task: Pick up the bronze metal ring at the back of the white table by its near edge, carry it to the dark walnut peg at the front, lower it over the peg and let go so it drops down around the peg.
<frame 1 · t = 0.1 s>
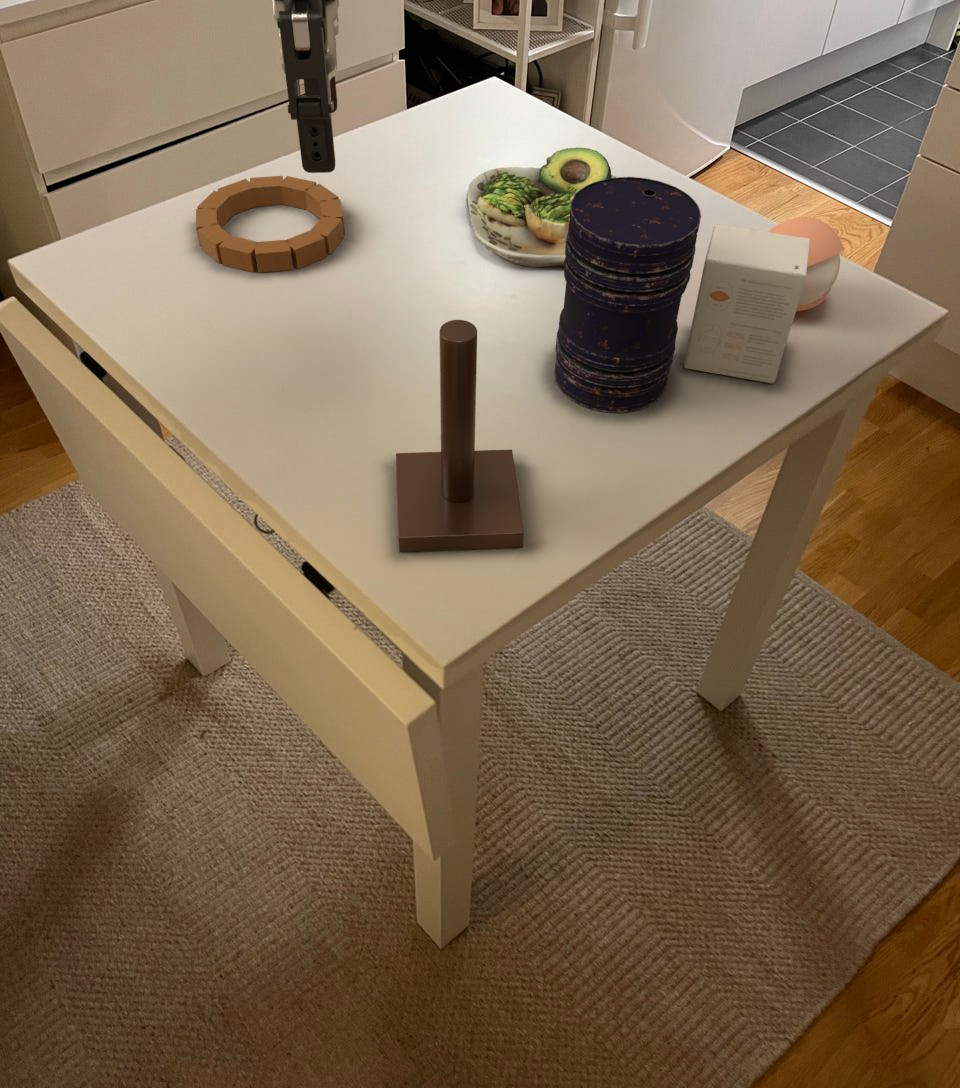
hand: (321, 139, 70), 19 cm above the table, tool pointing down, fingers open, 8 cm apart
avocado toast plate: (552, 222, 100), on the table
peg: (457, 506, 75), on the table
ring: (272, 231, 98), on the table
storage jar: (610, 378, 85), on the table
small box: (730, 360, 87), on the table
toy ball: (785, 305, 92), on the table
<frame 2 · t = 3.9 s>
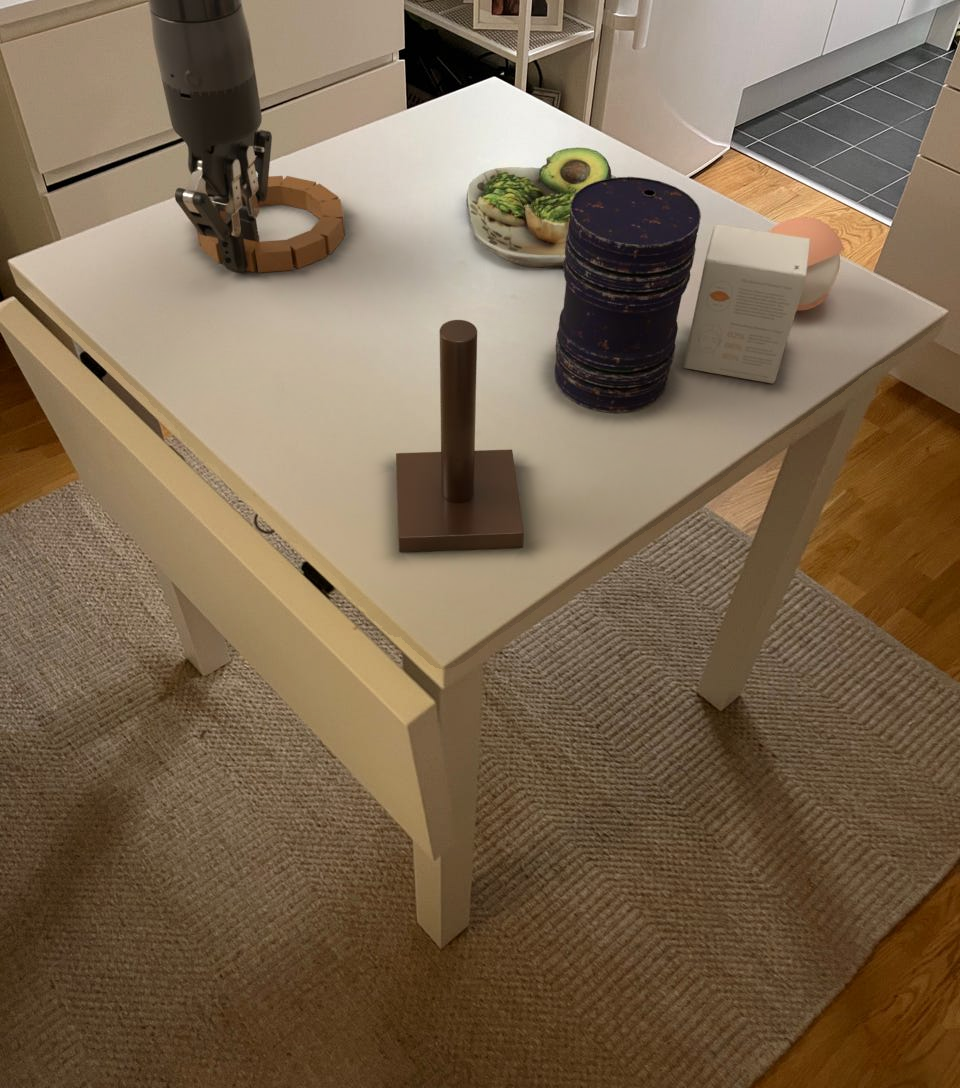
hand: (242, 261, 94), 0 cm above the table, tool pointing down, fingers closed on ring, 2 cm apart
ring: (272, 231, 98), on the table, touching gripper
everything else where it was.
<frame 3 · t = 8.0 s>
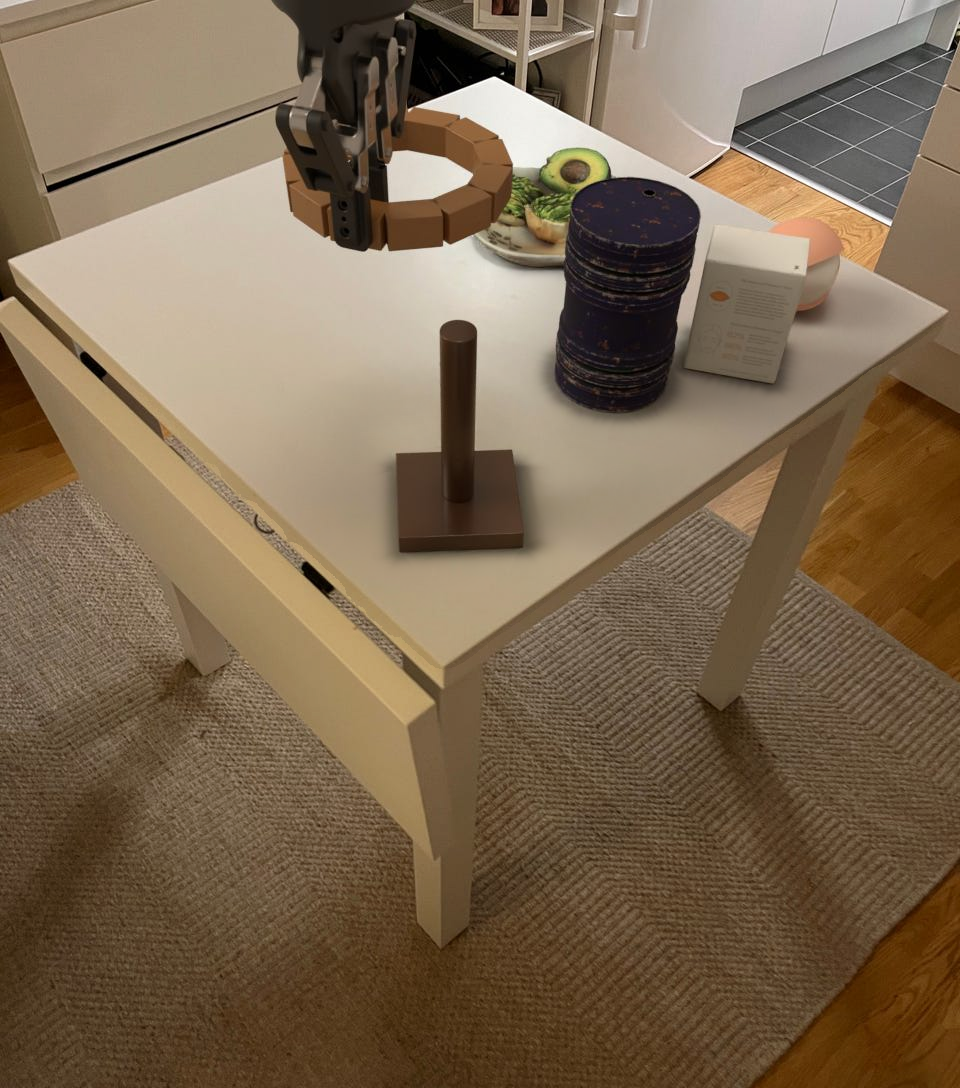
hand: (362, 234, 60), 21 cm above the table, tool pointing down, fingers closed on ring
ring: (399, 190, 63), point 21 cm above the table, touching gripper
everything else where it was.
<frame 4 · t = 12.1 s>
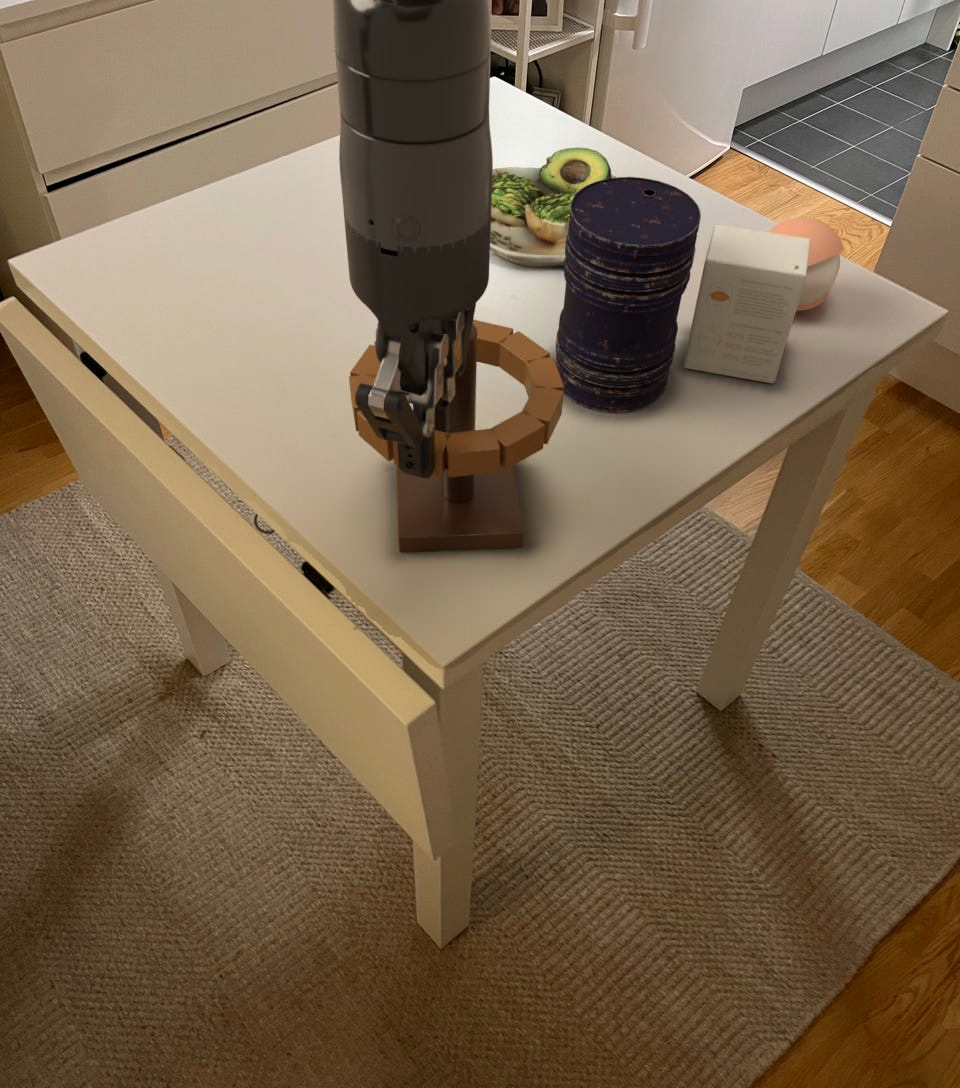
hand: (424, 459, 64), 10 cm above the table, tool pointing down, fingers closed on ring
ring: (456, 405, 68), point 10 cm above the table, touching gripper
everything else where it was.
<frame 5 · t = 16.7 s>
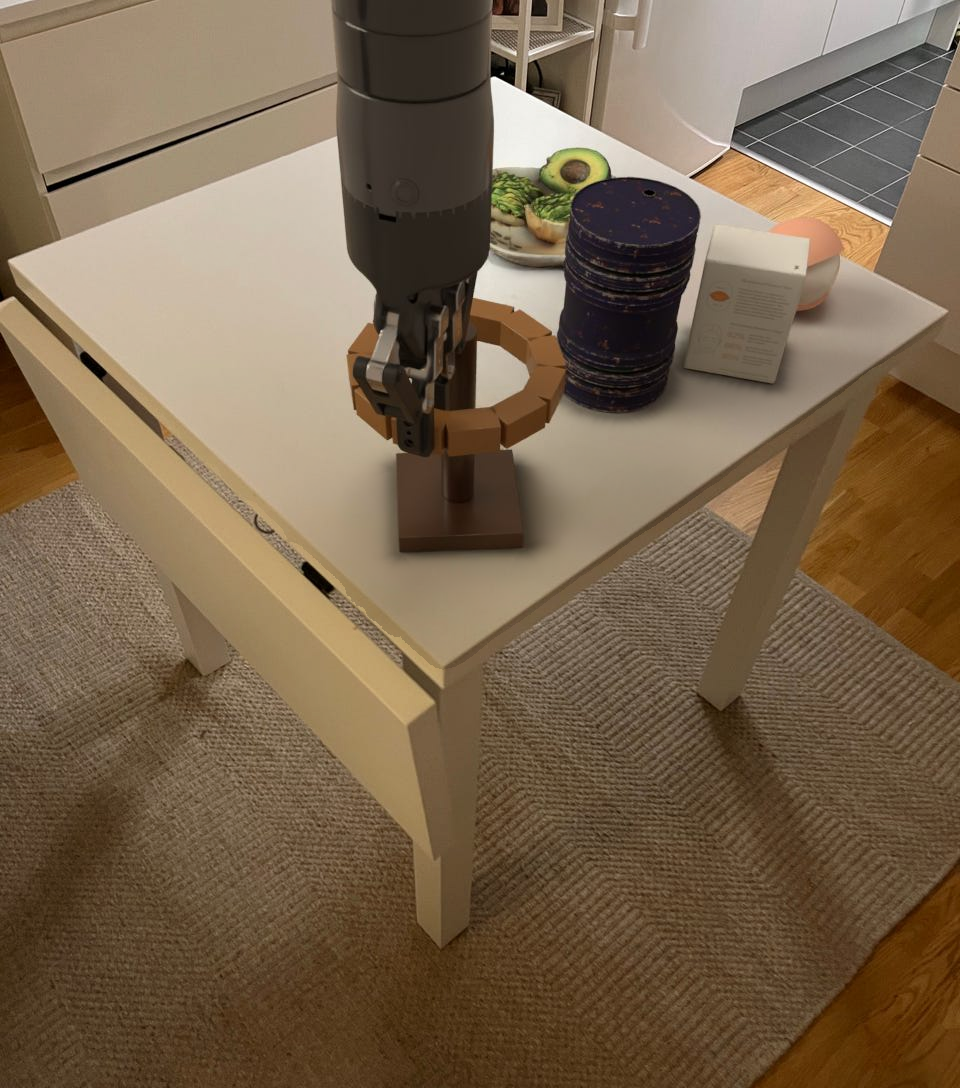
hand: (423, 437, 62), 12 cm above the table, tool pointing down, fingers closed on ring
ring: (456, 384, 66), point 11 cm above the table, touching gripper
everything else where it was.
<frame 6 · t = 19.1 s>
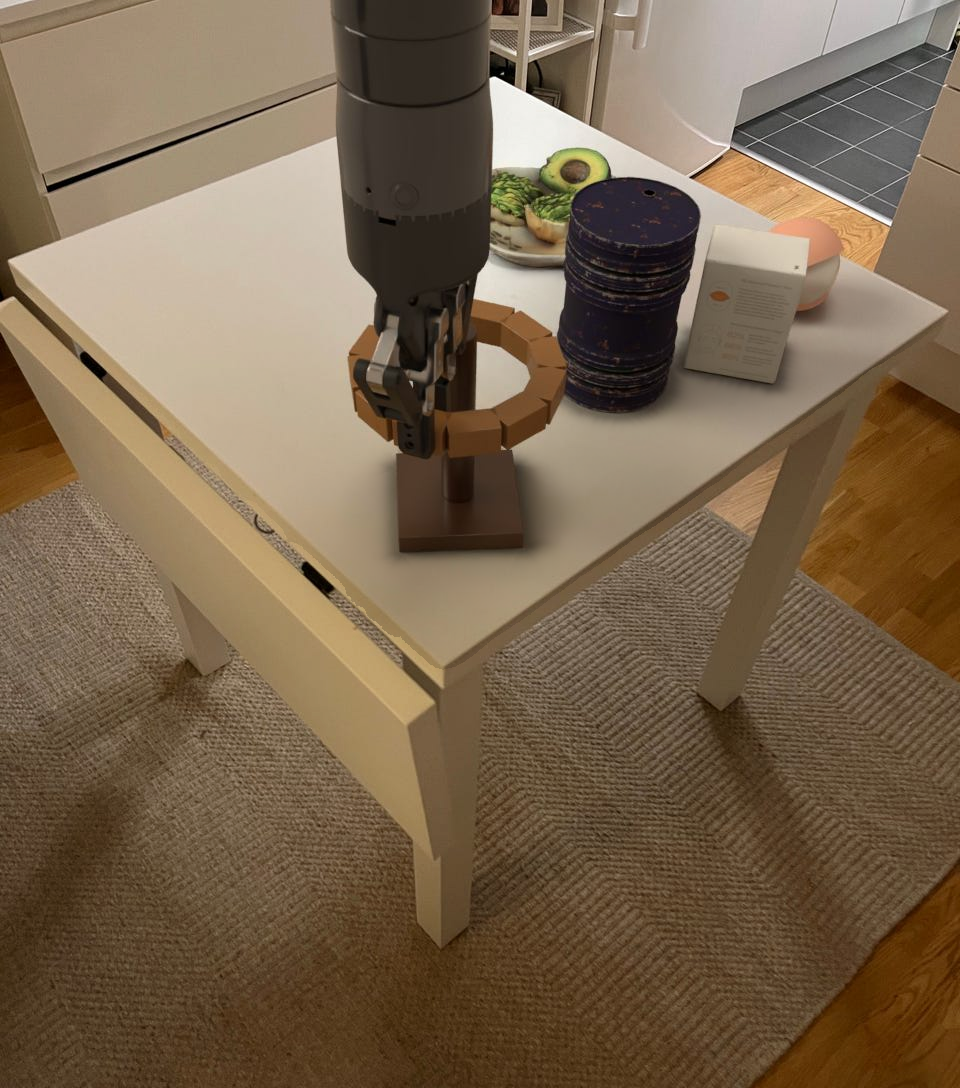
hand: (424, 439, 63), 11 cm above the table, tool pointing down, fingers closed on ring
ring: (457, 385, 66), point 11 cm above the table, touching gripper
everything else where it was.
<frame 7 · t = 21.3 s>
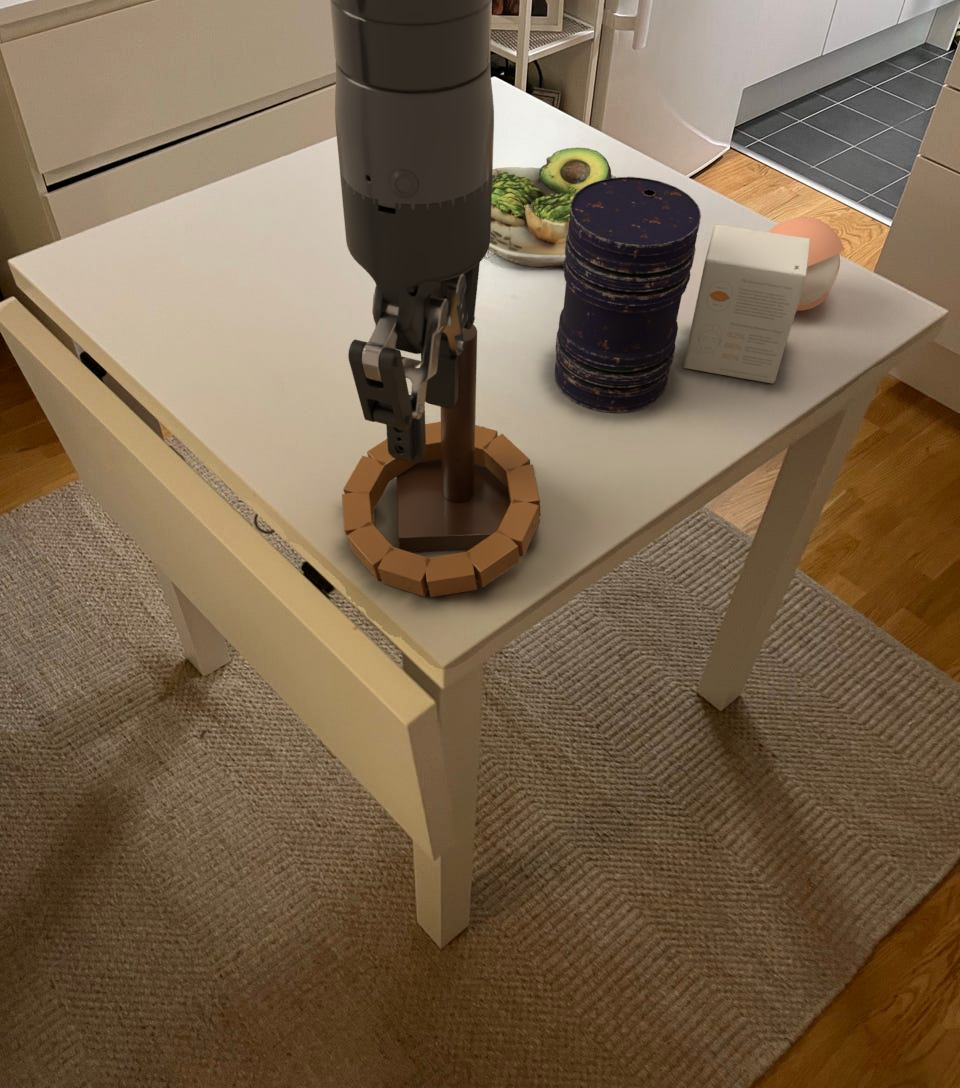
hand: (424, 428, 62), 12 cm above the table, tool pointing down, fingers open, 5 cm apart
ring: (442, 513, 73), point 1 cm above the table, tilted 11°, touching peg
everything else where it was.
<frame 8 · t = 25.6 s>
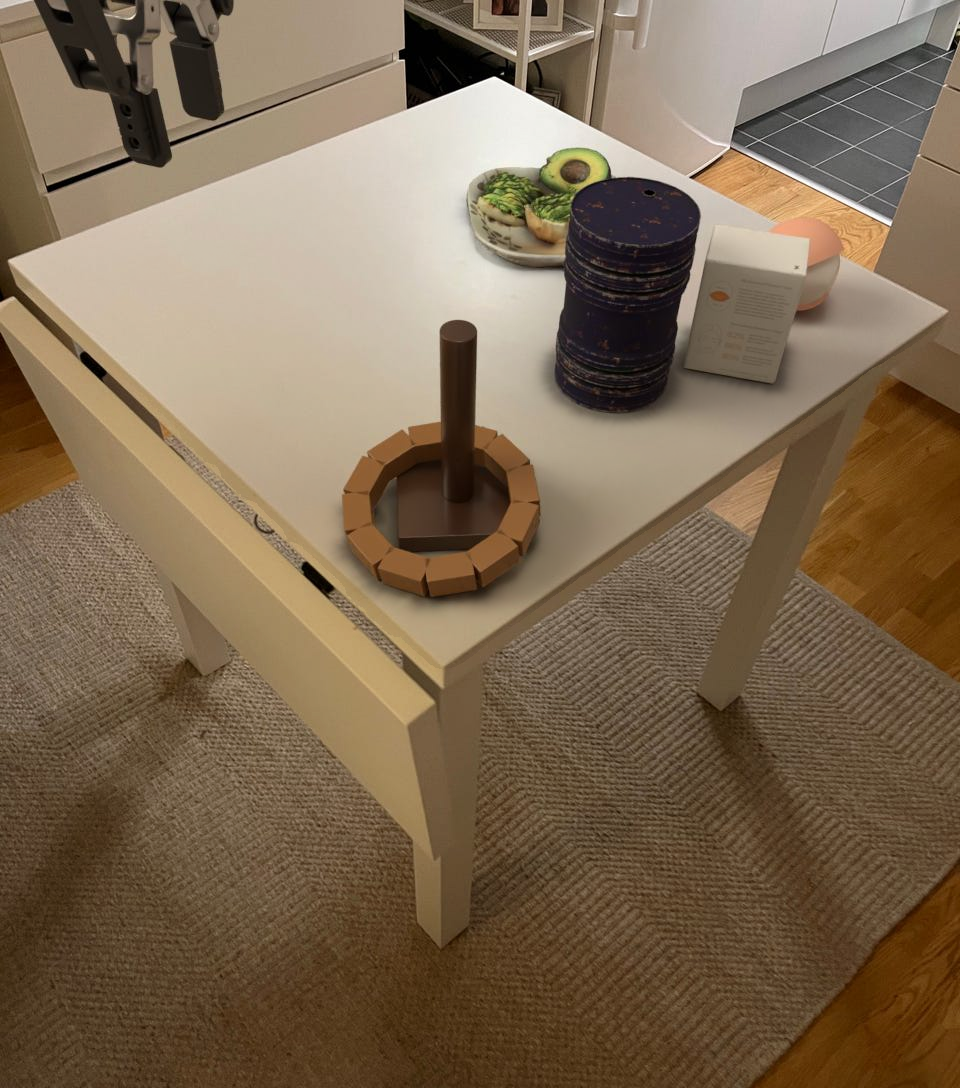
hand: (178, 137, 53), 27 cm above the table, tool pointing down, fingers open, 5 cm apart
nothing on the table moved.
at the end: ring 2.4 cm off-centre on the peg, point 1.3 cm above the peg's base; the gripper is holding nothing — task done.
